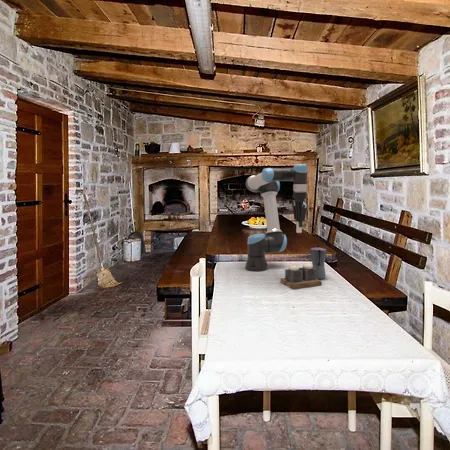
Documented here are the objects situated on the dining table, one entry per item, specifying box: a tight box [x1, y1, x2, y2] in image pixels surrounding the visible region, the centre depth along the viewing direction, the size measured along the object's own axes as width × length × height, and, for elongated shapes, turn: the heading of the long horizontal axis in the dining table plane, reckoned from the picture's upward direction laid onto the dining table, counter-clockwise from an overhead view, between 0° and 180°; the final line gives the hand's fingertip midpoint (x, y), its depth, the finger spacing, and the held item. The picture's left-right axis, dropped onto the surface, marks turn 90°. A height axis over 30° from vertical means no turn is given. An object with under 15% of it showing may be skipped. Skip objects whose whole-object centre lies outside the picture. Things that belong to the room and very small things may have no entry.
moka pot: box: [309, 244, 327, 280], centre depth 204 cm, size 10×15×20 cm, turn 174°
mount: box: [280, 266, 323, 290], centre depth 192 cm, size 14×18×8 cm
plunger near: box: [288, 264, 300, 272], centre depth 190 cm, size 6×6×8 cm
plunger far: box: [302, 262, 313, 270], centre depth 193 cm, size 6×6×8 cm
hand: (299, 232), depth 196 cm, fingers closed
